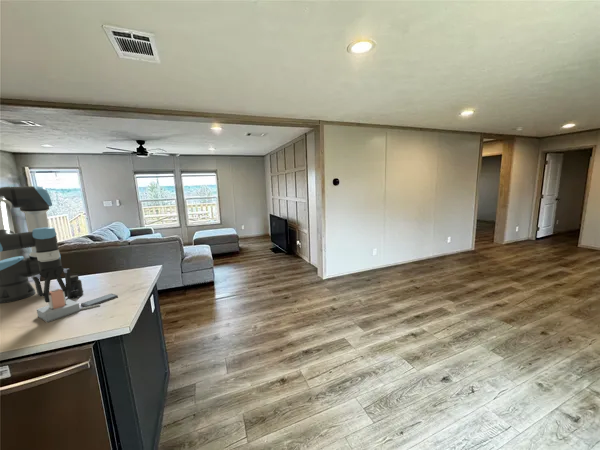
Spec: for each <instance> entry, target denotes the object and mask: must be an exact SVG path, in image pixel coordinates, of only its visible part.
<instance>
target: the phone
mask: <svg viewBox="0 0 600 450" xmlns="http://www.w3.org/2000/svg"><path fill="white" fill-rule="evenodd" d="M116 298H119V296H118V295H117V294H115V293H108V294H106V295H103V296H99V297H96V298H94V299H91V300H88V301H84V302H81V303H80V306H82V307H83V308H84V307H88V306H93V305H98V304H103V303H105V302H108V301H110V300H111V301H112V300H114V299H116Z"/></svg>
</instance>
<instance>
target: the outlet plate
mask: <svg viewBox="0 0 600 450" xmlns="http://www.w3.org/2000/svg"><path fill="white" fill-rule="evenodd" d="M80 308H81V307H80V302H77V301H74V300H72V299H70V298H67V299H66V304H65V306H62V307H59V308H56V309H53V308H52V309H51V308H49V304H48V305H45V306H42V307H39V308H36V313H37V317H38V318H39V319H41V320H42V321H44V322H45V323H50V322H52V321H54V320H58V319H61V318H64V317H67V316H69V315H72V314H75V313H78V312H81V310H80Z"/></svg>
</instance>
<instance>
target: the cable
mask: <svg viewBox="0 0 600 450" xmlns="http://www.w3.org/2000/svg"><path fill="white" fill-rule="evenodd" d="M101 304H102V303H100V304H97V305H93V306H88V307H84V306H83V307H80V311H83V310H88V309H93V308H97V307H100V306H101Z"/></svg>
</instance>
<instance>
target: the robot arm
mask: <svg viewBox="0 0 600 450" xmlns="http://www.w3.org/2000/svg"><path fill="white" fill-rule="evenodd" d="M51 206H53V202H52V200H51V197H50V194H49V191H48V189H47V188H46V187H44V186H36V185H34V186H30V185H29V186H2V187H0V253H2V252H6V251H14V250H19V249H20V250H21V249H22V250H23V249H28V248H31V252H30V253H29V256H28V257H24V256H23V255H19V256H13V257H10V258H9V257H8V258H5V259H2V260H1V259H0V304H1V303H2V304H3V303H10V301H11V302H15V301H19V300H23V299H26V298H30V297H31V296H34V295H35V294H36V293H37V296H39V297H44V301H45V303H46V304H47V303H48V305H49V308H51V309H52V308H53V303H52V297H51V295H49V291H50V287H51V286H50V285H51V280H53V279H56V281H57V283H58V285H59V288H60V289H61V290H62V291H63V296H64V302H65V304H66V300H67V299H66V298H68V297H67V296H68V295H67V290H68V289H69V288H71V280H70V276H71V271H72V269H71V268H64V267H63V265H62V259H61V257H62V256H61V253H60V249H59V244H58V237H57V231H56V228H55V227H53V226H49V220H48V214H47V212H48V211H49V210H50V207H51ZM12 209H19V211H20V212H22V213H23V214H24V216H25V219H26V220H25V221H26V226H27V230H28V231H26V232H17V233H16V232H15V227H14V222H13V217H12V212H11V210H12ZM63 273H64V278H65V279H64V280H65V283H64V280H63V278H62V276H61V275H62V274H63ZM30 277H31V279H32V280H33V282H34V286H35V288H34V286H33V285H32V284H31V283H30V281H29V278H30ZM41 277H42V278H44V286H43V287H42V285H41V284H42V283H41V280H40V279H41ZM65 284H66V285H65Z"/></svg>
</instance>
